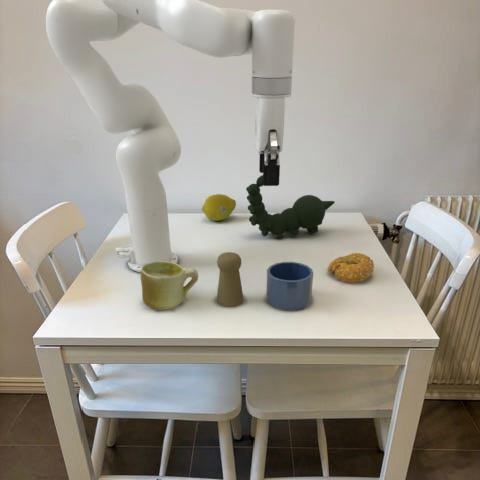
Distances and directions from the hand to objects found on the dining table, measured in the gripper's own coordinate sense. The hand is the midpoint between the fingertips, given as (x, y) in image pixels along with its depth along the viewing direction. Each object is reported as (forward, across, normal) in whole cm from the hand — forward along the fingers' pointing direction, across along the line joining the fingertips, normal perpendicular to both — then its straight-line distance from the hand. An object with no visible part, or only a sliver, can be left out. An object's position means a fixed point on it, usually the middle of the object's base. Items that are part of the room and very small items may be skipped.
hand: (268, 178), depth 100 cm
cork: (+25, +7, -8) cm, 27 cm away
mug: (+25, +6, -21) cm, 34 cm away
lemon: (+25, -46, -11) cm, 53 cm away
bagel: (+25, -4, +21) cm, 33 cm away
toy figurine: (+25, -32, +10) cm, 42 cm away
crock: (+25, +7, +4) cm, 26 cm away
